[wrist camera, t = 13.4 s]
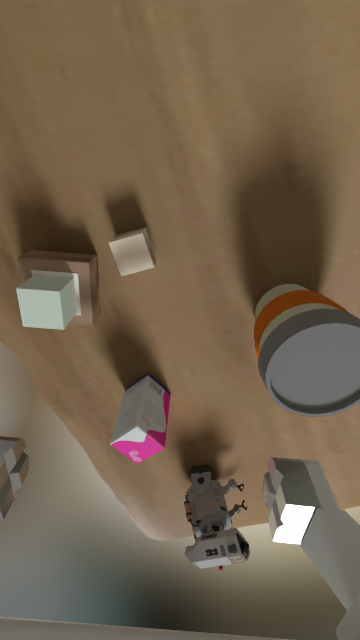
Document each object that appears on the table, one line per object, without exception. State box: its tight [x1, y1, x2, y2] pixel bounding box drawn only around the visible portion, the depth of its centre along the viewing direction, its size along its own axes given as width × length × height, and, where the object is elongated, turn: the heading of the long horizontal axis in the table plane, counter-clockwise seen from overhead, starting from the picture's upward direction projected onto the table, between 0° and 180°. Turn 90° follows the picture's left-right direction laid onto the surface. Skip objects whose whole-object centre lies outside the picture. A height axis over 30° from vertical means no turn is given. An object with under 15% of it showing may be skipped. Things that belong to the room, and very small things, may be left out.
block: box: [109, 226, 157, 276], centre depth 41 cm, size 4×4×4 cm
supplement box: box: [110, 374, 170, 464], centre depth 49 cm, size 6×6×12 cm
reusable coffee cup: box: [254, 284, 360, 417], centre depth 39 cm, size 13×12×15 cm
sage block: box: [16, 274, 77, 330], centre depth 39 cm, size 5×5×5 cm
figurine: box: [184, 465, 250, 570], centre depth 57 cm, size 9×12×15 cm
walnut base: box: [18, 250, 100, 326], centre depth 43 cm, size 9×9×4 cm
